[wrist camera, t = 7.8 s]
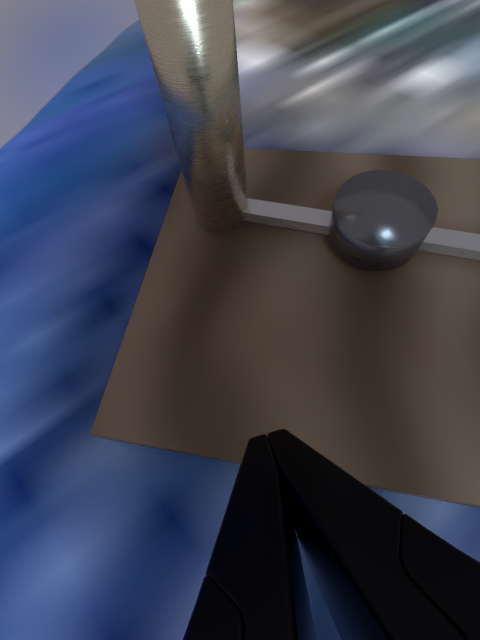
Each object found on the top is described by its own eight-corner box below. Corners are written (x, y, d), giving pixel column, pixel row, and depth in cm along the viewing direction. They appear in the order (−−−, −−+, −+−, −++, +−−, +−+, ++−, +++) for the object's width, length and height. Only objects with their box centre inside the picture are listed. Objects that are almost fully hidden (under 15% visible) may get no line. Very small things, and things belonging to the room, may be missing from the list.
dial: (586, 232, 16) (1080, -168, 6) (600, 313, 14) (1317, -70, 5) (207, 177, 20) (146, -131, 10) (181, 236, 18) (74, -68, 8)
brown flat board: (592, 187, 20) (619, 162, 18) (725, 552, 12) (790, 561, 11) (194, 165, 23) (189, 143, 22) (105, 438, 16) (87, 433, 14)
